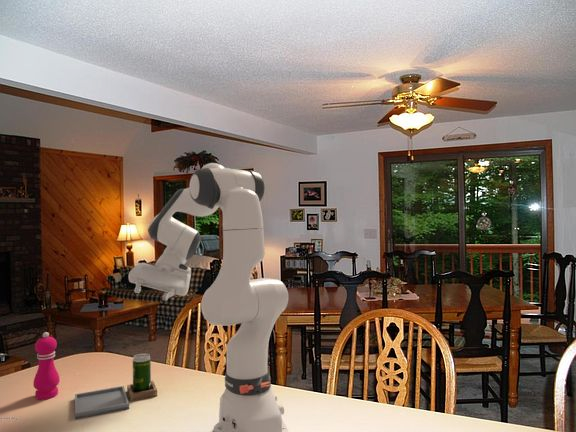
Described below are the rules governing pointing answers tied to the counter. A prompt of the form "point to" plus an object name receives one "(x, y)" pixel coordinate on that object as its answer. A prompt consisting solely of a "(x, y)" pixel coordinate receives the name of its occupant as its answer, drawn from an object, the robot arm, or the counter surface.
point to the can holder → (141, 394)
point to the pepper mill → (46, 368)
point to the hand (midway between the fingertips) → (150, 295)
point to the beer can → (141, 372)
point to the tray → (100, 402)
